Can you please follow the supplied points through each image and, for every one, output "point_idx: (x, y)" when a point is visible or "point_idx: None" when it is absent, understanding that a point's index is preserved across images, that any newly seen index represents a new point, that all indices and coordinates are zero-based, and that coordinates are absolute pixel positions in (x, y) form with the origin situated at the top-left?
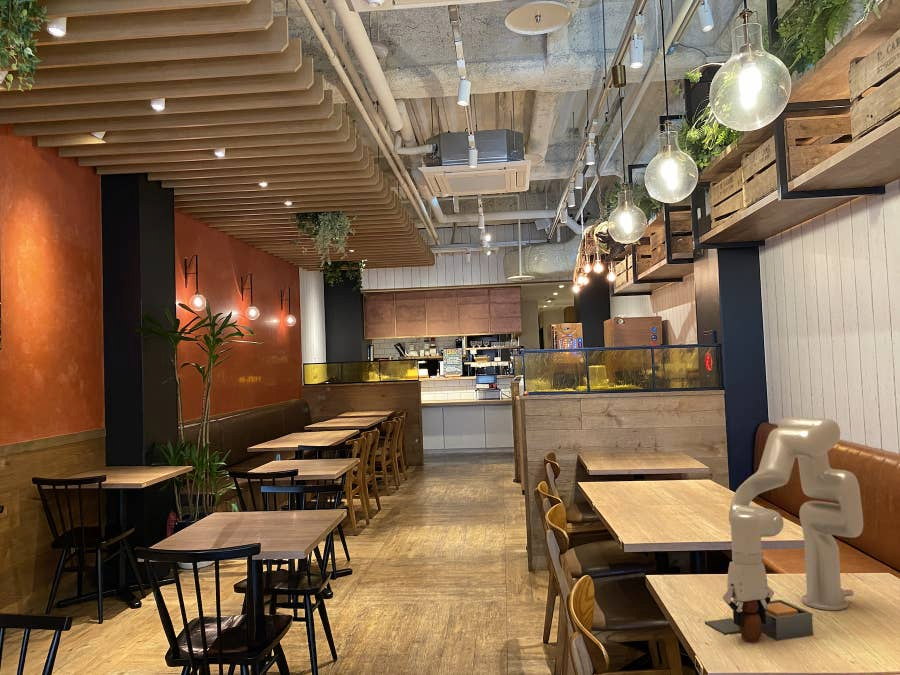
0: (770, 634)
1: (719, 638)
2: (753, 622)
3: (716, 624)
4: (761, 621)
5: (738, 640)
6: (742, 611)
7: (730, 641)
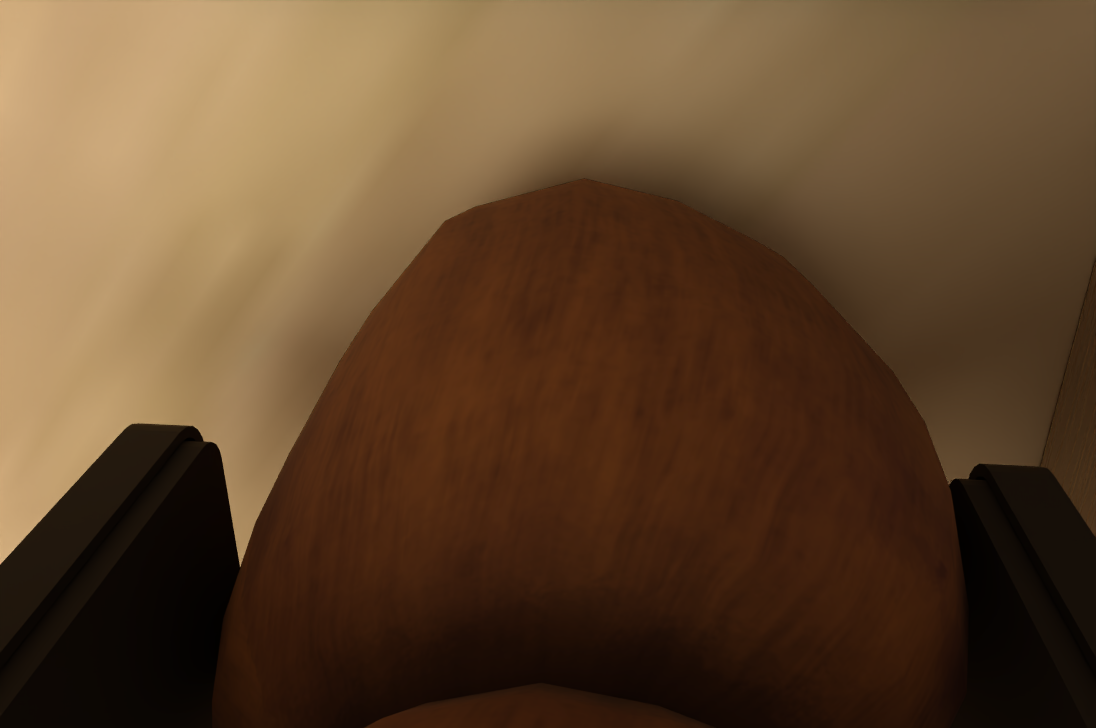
0: (1078, 457)
1: (9, 84)
2: None
3: None
4: None
5: (342, 308)
6: (358, 695)
7: (162, 292)
